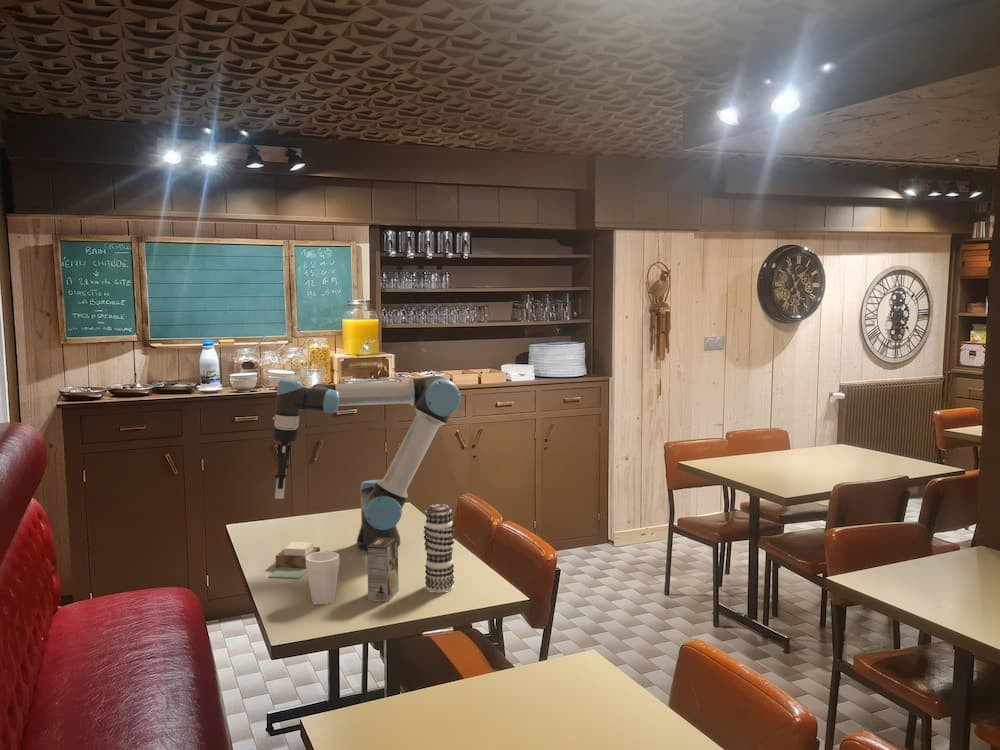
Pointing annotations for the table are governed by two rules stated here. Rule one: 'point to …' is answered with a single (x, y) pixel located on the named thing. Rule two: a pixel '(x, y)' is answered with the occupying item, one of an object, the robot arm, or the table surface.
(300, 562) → the brown flat block
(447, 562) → the decorative candle
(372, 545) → the coffee box
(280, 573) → the mat
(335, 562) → the foam cup
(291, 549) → the tile
